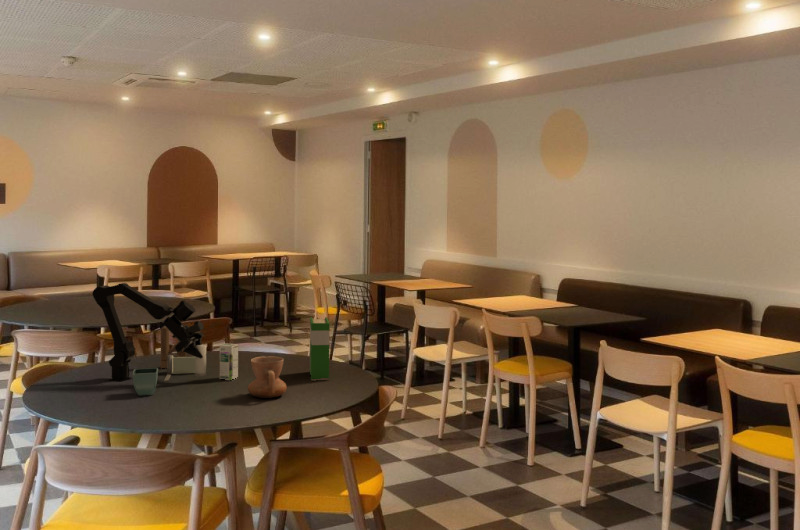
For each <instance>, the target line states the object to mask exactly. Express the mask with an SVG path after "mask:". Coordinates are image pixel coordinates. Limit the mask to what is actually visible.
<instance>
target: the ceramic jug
mask: <svg viewBox="0 0 800 530" xmlns="http://www.w3.org/2000/svg"><path fill="white" fill-rule="evenodd" d="M250 363H251V368H252V371H253V373H254V376H255V377H256V378H255V379H254V380H253V381H251V382H250V383H249V384H248V385H247V391H248V393H249V394H250V395H251V396H252V397H253V396H254V397H256V398H262V399H270V398H271V399H272V398H277V397H280V396H282V395H284V394H285V393H286V391H287V383H286V382H285V381H283V380H282V379H281V378H280V376H281V375H280V374H281V372H282V369H283V366H284V358H283V357H281V356H280V357H279V356H272V355H269V356H265V355H263V356H256V357H253V358H251V360H250Z"/></svg>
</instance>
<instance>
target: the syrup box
mask: <svg viewBox="0 0 800 530" xmlns="http://www.w3.org/2000/svg"><path fill="white" fill-rule="evenodd" d="M237 377H238V378H239V344H237V343H236V344H235V343H221V344H219V380H220V379H225V380H224V381H230V380H232V379H234V380H236V379H238V378H237ZM235 378H236V379H235ZM232 381H233V380H232Z"/></svg>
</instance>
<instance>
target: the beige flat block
mask: <svg viewBox="0 0 800 530" xmlns="http://www.w3.org/2000/svg"><path fill="white" fill-rule="evenodd" d="M194 373H195V356H186V357H177V356H176V357H175V356H173V373H172V374H173V375H174V374H194Z"/></svg>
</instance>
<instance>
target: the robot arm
mask: <svg viewBox="0 0 800 530" xmlns="http://www.w3.org/2000/svg"><path fill="white" fill-rule="evenodd" d="M119 294H121V295H122V296H124V297H125V298H127V299H129V300H130V301H132V302H134V303H136V304H137V305H139V306H141V307H142V308H144V309H145V310H146V312H147V313H148V314H149V315H150V316H151V317H152V318H154V319H155V320H161V321H159V327H158V328H159V329H160V330H161V328H164V327H166V328H167V329H168V330H169V333H171V335H172V338H173V339H176V340H177V341H180V342H179V343H178V344H177V345H176V346H175V350H176V351H177V352H178V353H179V352H181V351H182V349H183V348H184V349H185V350H184V351H183V352H185V353H186V354H188V355H191V356H192V357H195V356H196V357H198V358H203V356H202V354H201V353H200V351H199V350H198V349H197V347H196V346H197V345H203V343H202V339H203V337H204V336H205V334H204V333H203V332H202V331H203V330H204V329H205V328H204V323H202V321H200V320H196V321H194V323H193V325H190V326H189V325H187V324H186V325H185V324H183V322H186V321H187V320H189V318H190V317H191V316H193V314H194V313H195V312H196V309H195V307H194V306H193V305H192V304H190V303H189V302H187V301H186V300H185V299H184V300H181V301H180V302H179V304H177V306H176V307H172V306H169V305H168V304H166V303H164V302H161V301H158V300H154V299H152V298H150V297H148V296H147V295H145V294H143V293H141V292H140V291H139V290H137V289H135V288H133V287H132V286H130V285H129V284H128V283H126V282H122V283H118V284H116V285H112V286H109V285H102V286H97V287H95V288H94V289H93V291H92V297H93V300H94V301H95V303H96V304H97V305H98V306H99V307H100V308H101V310H102V312H103V315H104V318H105V321H106V323H107V326H108V329H109V332H110V335H111V338H112V340H113V350H112V351H113V354H114V355H113V356H112V357H111V358H110V359H109V360H108V364H109V366H110V367H111V377H109V378H108V380H109V381H110V380H111V381H115V380H116V381H117V382H123V381H126V380H129V379H133V376H130V366H129V363H131V360H132V359H133V358H134V356H135V354H136V351H135V350H136V347H135V345H134V341H133V340H128V339H127V338H126V336H125V332H124V330H123V327H122V323H121V322H120V319H119V316H118V312H117V310H116V307H115V295H119ZM163 319H164V320H163ZM177 352H176V353H177ZM206 356H207V353H206Z"/></svg>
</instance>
